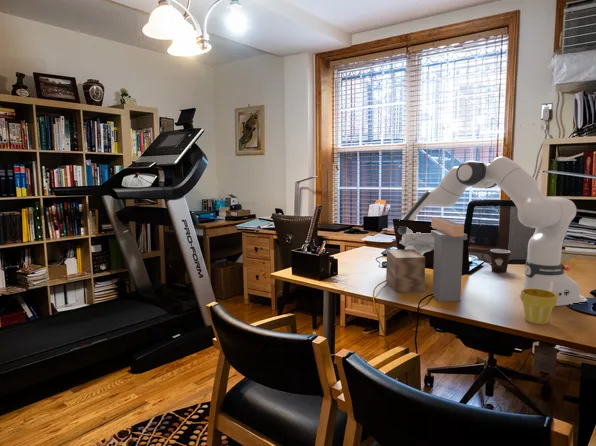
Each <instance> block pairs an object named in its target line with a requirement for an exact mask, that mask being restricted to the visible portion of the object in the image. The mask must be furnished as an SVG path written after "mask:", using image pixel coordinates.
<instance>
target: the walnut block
mask: <svg viewBox="0 0 596 446" xmlns="http://www.w3.org/2000/svg"><path fill="white" fill-rule="evenodd" d="M385 271H386V274H385V276H386V279H385V282H386V283H387V284H388V286H389V287H390V288H391V289H392V290H393V291H394V293H418V292H419V293H423V292H425V281H426V279H425V278H426V277H425V276H426V275H425V274H426V273H425V272H426V256H424V254H423V255H421V254H420V253H418V252H417V251H416V250H414V249H406V250H405V249H386V270H385Z"/></svg>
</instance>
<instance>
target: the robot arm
mask: <svg viewBox="0 0 596 446" xmlns="http://www.w3.org/2000/svg"><path fill="white" fill-rule="evenodd" d="M538 183H539V182H538V181H537V180H536V179H535V178H534V177H533V176H531V174H529V173H528V172H527V171H526V169H524V168H523V167H522V166H521V165H519V164H518V163H517V162H515V161H514V160H512V159H511V158H509V157H507V156H502V155H501V156H498V157H496V158H494V159H493V160H491V162H489V163H486V162H482V161H477V160H467V161H464V162H462V163H460V165H456V166H453V167H451V168H450V170H449V171H448V172H446V173H445V175H444V176H443V178H442V179H441V181H440V182H439V184H438V185H437V186H436V187H435V188H433V189H432V190H426V191H425V193H423V194H422V196H420V197H419V198H418V199H417V201H415V203H414V204H413V206H411V208H410V209H408V210H409V211H408V212H407V213H406V214H405V215H404V216H402V217H401V218H400V219H401V220H414V221H419V220H418V219H416V217H417V216H418V215H419V213H420V212H421V211H422V210H423V209H424V208H426V207H427V206H428V207H429V206H430V207H431V206H433V207H440V208H448V207H451V206H453V205H456V203H457V202H458V201H460V198H461V197H462V196H463V194H464V192H465V191H466V189H467V188H468V187H472V188H476V189H492V188H495V187H496V186H498V187H499V189H500V190H501V191H502V192H504V194H506V195H507V197H508V198H510V199H511V200H512V202H513V203H514V205H515V206H516V208H517V218H518V221H519V223H521V224H522V225H523V226H525V227H527V228H532V229H535V231H534V233H533V235H532V236H531V237H530V239H529V240H528V244H527V256H526V260H525V263H524V275H525V276H524V280H523V283H522V284H523V285H522V288H521V290H520V293H519V296H520V297H521V291H522V290H523V289H526V288H538V289H544V290H548V291H551V292H554V293H555V294H556V295H557V302H556V306H555V307H560V306H568V305H569V304H570V305H574V304H573V303H579V302H585V301H587V302H588V299H587V298H586V297H585V296H583V295H581V290H580V289H581V288H580V285H579V284H578V283H577V282H576V281H575V280H574V279H572V278H571V277H570V276H568V275H567V274H566V273H565V271H566V272H570V271H571V269H572V268H571V266H570V265H568V264H562V263H561V259H562V249H563V243H564V239H565V237H566V235H567V231H568V228H569V226H570V224H571V222H572V221H573V220H574V219H575V217H576V215H577V206H576V204H575V203H574V201H572V200H570V199H568V198H565V197H560V196H553V197H552V196H551V197H547V196H545V195H544V194H543V193H541V190H540V189H539V184H538ZM397 232H398V234H399V235H402V236H401V240H399V244H401V245H402V246H404V250H406V249H414V250H416V251H417V252H418V253H420V254H421V255H423V256H424V254H425V253H428V252H431V251H434V239H435V237H433V236H431V233H421V232H416V233H413V231H412V230H411V229H409V228H408V227H406V226H399V228H398V230H397ZM579 304H580V303H579Z"/></svg>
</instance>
